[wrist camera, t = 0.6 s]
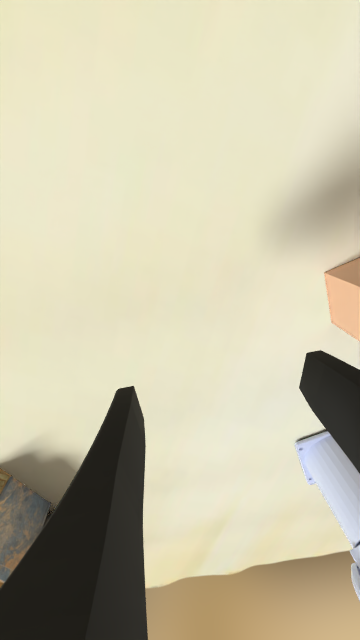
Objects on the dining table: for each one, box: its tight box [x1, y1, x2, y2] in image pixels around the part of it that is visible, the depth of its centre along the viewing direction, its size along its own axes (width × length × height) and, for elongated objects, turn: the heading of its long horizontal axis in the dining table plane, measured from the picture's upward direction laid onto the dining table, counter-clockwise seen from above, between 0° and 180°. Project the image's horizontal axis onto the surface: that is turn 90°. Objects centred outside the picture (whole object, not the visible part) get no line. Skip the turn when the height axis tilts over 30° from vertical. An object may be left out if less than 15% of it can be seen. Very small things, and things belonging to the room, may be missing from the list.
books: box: [0, 469, 52, 588], centre depth 24 cm, size 11×3×10 cm, turn 25°
